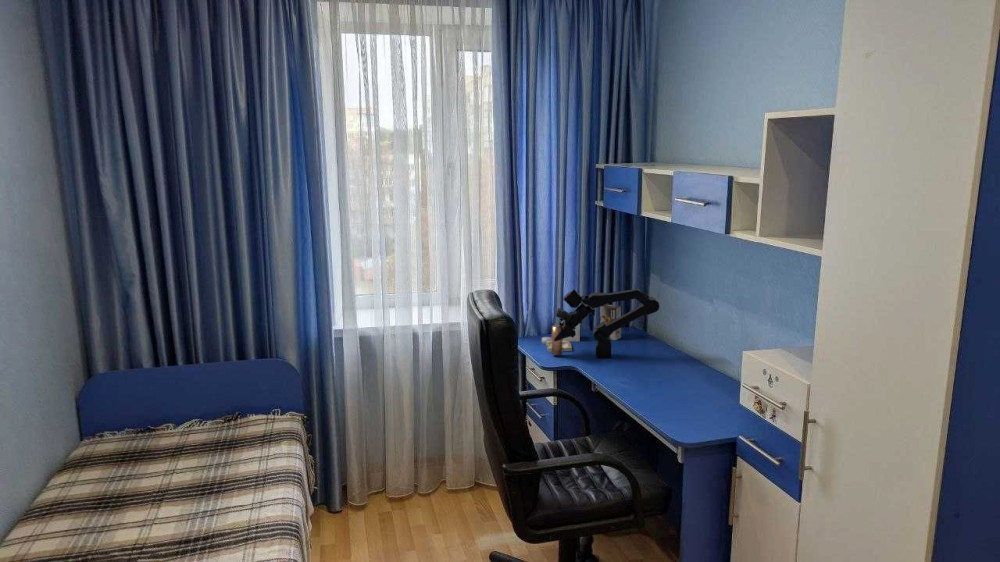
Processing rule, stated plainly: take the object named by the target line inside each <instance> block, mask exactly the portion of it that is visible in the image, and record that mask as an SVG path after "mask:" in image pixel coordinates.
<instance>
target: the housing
mask: <svg viewBox="0 0 1000 562" xmlns="http://www.w3.org/2000/svg"><path fill="white" fill-rule="evenodd" d="M580 326H581V324H580V323H579V324H578V325H577V326H576V327H575V328H576V329H575V332H576V335H575V336H574V337H573V338H572V337H567V338H564V339H563V340H562V341H570V342H581V341H580V338H581V337H580V336H581V335H580V330H581V327H580Z"/></svg>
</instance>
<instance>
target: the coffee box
mask: <svg viewBox="0 0 1000 562" xmlns="http://www.w3.org/2000/svg"><path fill="white" fill-rule="evenodd" d="M599 308H600V309H599V324H600V323H601V322H603V321H604V322H605V323H610V322H612V321H613V320H615V319H617V318H619V317H621V316H622V306H621V305H616V304H610V303H607V304H605V305H603V306H600V307H599ZM621 338H622V327H621V328H619V329H617V330H615V331H614V332H613V333H612V334H611V335H610V339H611V341H612V340H613V341H618V340H619V339H621Z"/></svg>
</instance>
